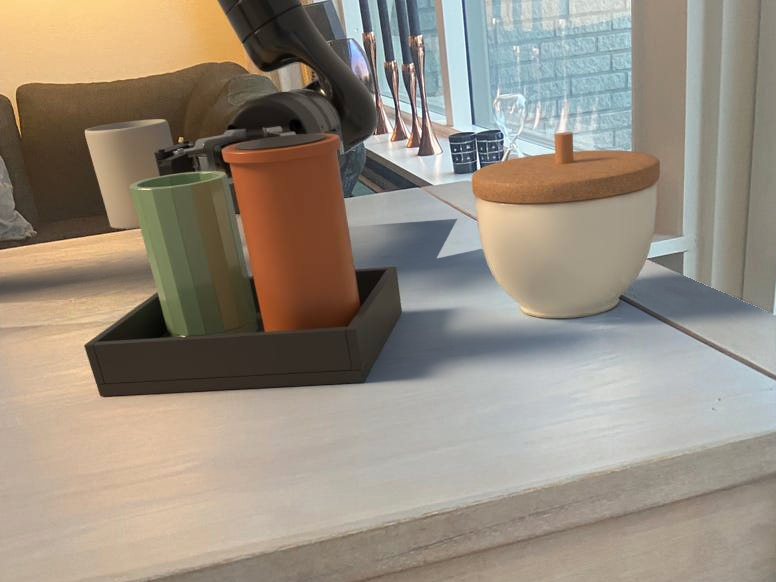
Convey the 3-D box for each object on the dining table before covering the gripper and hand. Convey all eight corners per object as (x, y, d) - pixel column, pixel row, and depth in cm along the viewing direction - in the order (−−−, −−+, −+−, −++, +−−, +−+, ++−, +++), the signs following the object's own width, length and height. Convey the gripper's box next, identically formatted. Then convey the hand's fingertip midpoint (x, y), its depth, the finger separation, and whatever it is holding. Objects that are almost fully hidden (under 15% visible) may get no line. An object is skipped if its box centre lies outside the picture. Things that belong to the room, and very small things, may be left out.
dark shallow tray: (99, 396, 61) (83, 345, 59) (182, 326, 73) (170, 281, 71) (363, 382, 59) (355, 328, 57) (402, 312, 71) (396, 266, 69)
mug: (191, 240, 101) (163, 124, 95) (109, 250, 101) (75, 134, 94) (200, 220, 111) (175, 113, 105) (126, 229, 110) (96, 122, 104)
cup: (157, 350, 66) (114, 191, 60) (188, 323, 71) (150, 175, 65) (244, 344, 65) (208, 184, 59) (269, 318, 70) (238, 168, 64)
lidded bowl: (591, 272, 76) (588, 116, 70) (694, 302, 67) (701, 125, 61) (452, 305, 72) (435, 141, 65) (541, 342, 62) (532, 155, 56)
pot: (251, 364, 61) (204, 154, 54) (280, 331, 67) (241, 137, 60) (358, 358, 60) (325, 144, 53) (378, 325, 66) (350, 128, 59)
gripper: (194, 100, 83) (118, 123, 69) (355, 86, 81) (309, 106, 67) (214, 195, 87) (147, 233, 73) (368, 183, 85) (327, 220, 72)
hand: (225, 172), depth 70 cm, fingers open, 8 cm apart
